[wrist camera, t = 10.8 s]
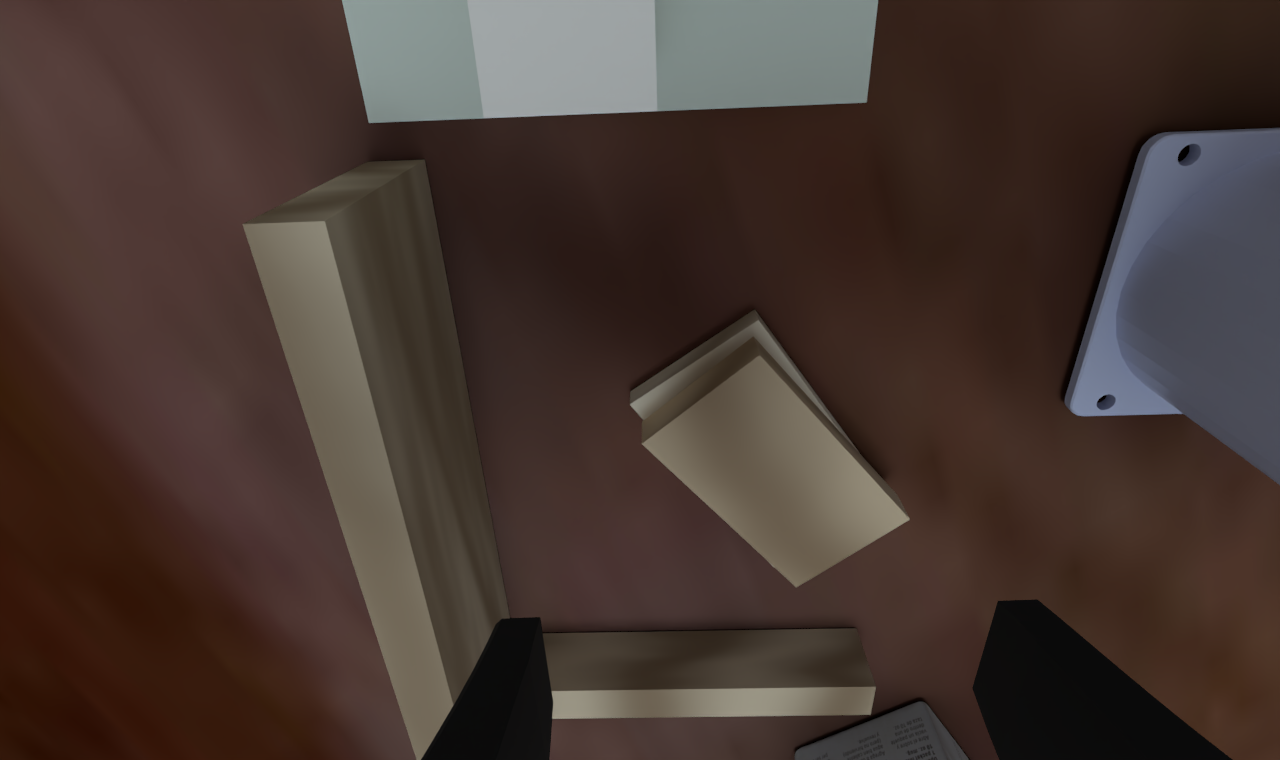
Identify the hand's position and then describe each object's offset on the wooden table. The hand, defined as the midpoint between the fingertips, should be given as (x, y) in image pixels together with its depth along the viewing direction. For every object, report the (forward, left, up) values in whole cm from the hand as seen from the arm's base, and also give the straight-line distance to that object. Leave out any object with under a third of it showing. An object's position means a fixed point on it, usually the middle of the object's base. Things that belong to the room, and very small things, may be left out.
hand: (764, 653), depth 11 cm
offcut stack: (-2, +3, -11) cm, 11 cm away
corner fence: (+2, +3, -10) cm, 11 cm away
